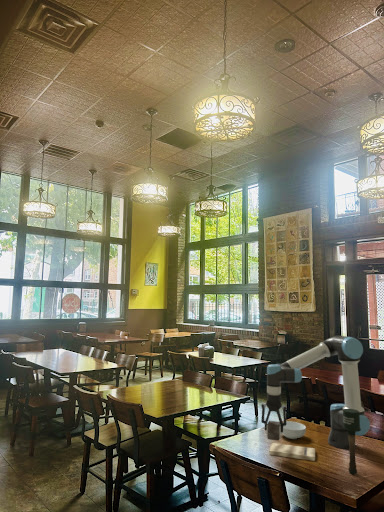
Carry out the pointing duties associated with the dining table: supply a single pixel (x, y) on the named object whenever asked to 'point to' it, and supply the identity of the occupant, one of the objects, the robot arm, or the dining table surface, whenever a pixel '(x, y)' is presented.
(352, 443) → the stick grenade
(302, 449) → the maple board
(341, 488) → the dining table surface
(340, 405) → the robot arm
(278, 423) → the marking gauge
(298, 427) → the cereal bowl
